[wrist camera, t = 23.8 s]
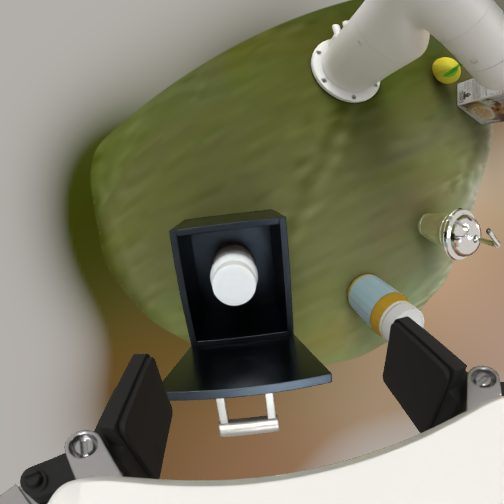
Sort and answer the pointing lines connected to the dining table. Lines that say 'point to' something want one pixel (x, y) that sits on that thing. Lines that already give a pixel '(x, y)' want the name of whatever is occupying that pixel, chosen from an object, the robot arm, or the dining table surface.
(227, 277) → the pill bottle
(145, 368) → the robot arm
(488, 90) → the coffee box
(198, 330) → the waste bin
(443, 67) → the lemon
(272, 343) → the bin lid
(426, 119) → the dining table surface
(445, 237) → the cup with straw
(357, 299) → the bottle
